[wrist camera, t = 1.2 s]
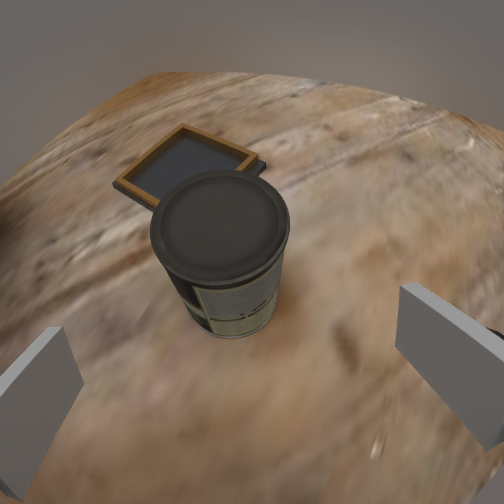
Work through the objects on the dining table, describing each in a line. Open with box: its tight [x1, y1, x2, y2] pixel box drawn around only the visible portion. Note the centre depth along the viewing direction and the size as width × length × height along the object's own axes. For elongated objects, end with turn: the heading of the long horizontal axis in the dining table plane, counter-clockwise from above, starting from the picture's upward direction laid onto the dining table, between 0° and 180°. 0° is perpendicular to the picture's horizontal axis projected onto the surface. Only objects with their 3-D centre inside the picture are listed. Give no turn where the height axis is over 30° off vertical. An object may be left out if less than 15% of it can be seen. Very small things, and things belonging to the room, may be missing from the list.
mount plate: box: [112, 123, 266, 212], centre depth 43 cm, size 17×15×2 cm
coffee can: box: [150, 169, 290, 339], centre depth 29 cm, size 10×10×14 cm
